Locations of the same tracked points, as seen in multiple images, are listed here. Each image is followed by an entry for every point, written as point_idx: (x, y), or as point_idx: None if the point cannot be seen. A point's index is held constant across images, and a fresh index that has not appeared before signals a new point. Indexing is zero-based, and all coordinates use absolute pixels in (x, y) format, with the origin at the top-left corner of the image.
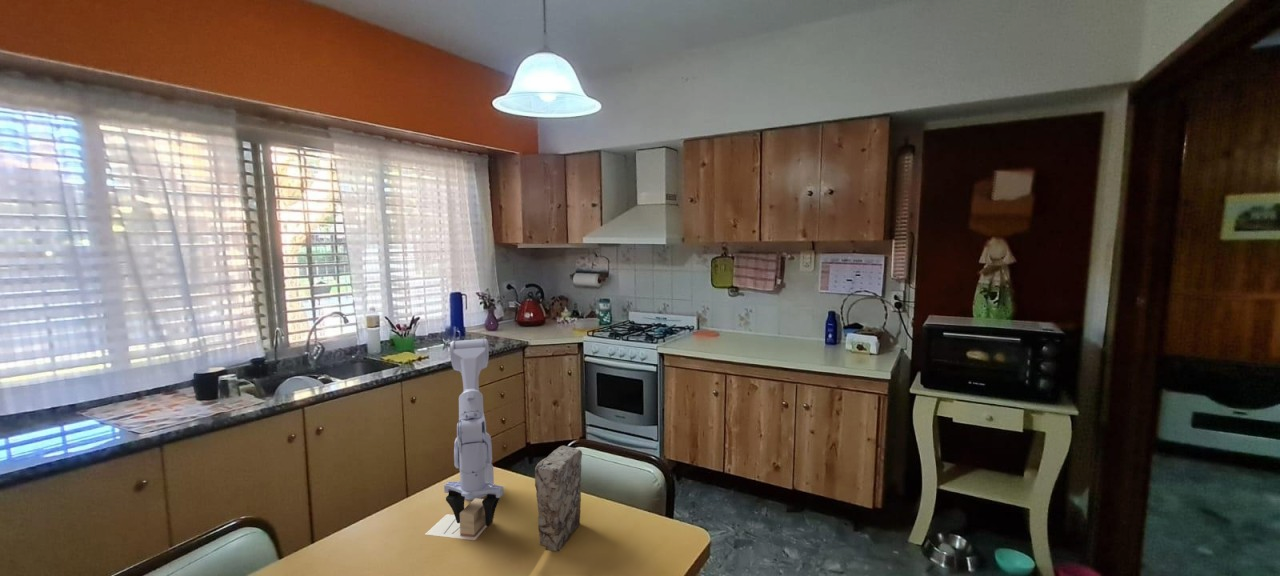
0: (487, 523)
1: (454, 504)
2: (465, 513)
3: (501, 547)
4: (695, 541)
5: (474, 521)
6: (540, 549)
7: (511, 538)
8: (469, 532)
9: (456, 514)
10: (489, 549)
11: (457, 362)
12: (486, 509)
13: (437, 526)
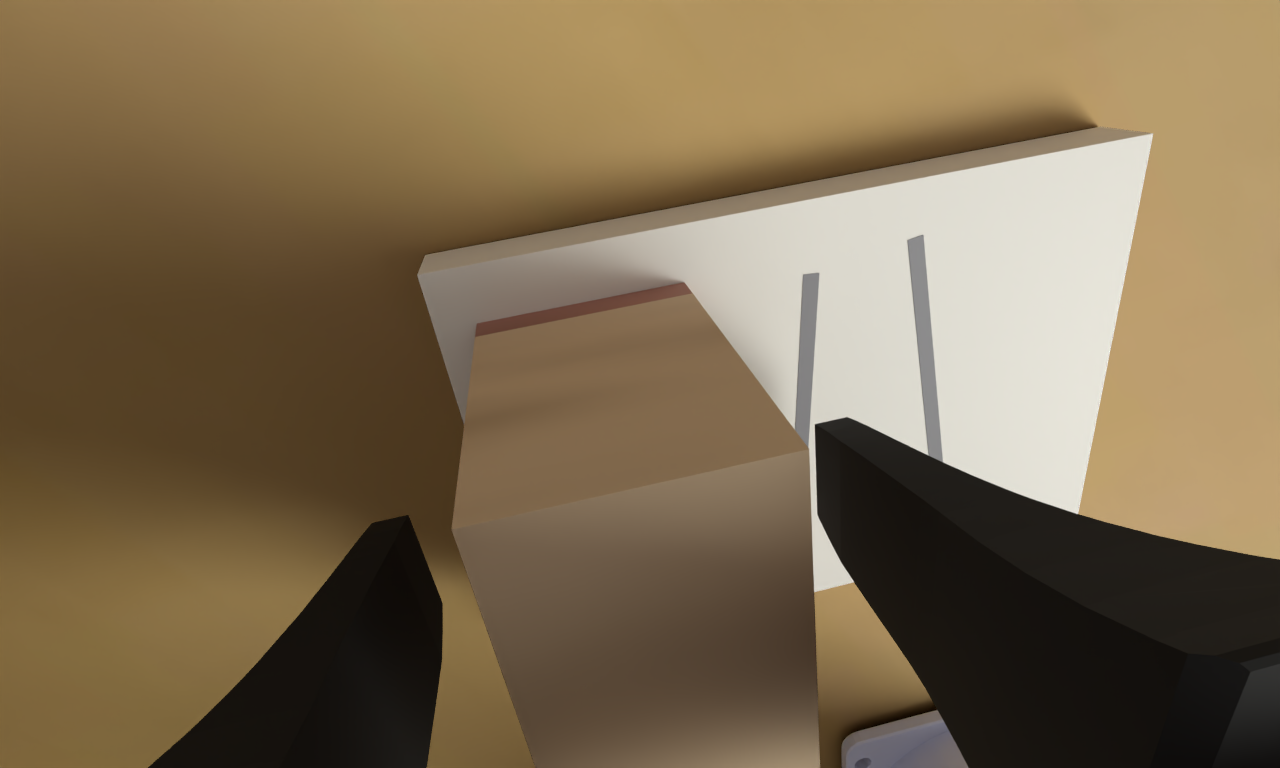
0: (362, 543)
1: (1070, 583)
2: (670, 490)
3: (47, 342)
4: None
5: (469, 453)
6: None
7: (113, 520)
8: (549, 330)
9: (911, 474)
10: (158, 249)
11: None
12: (234, 757)
13: (1069, 327)
